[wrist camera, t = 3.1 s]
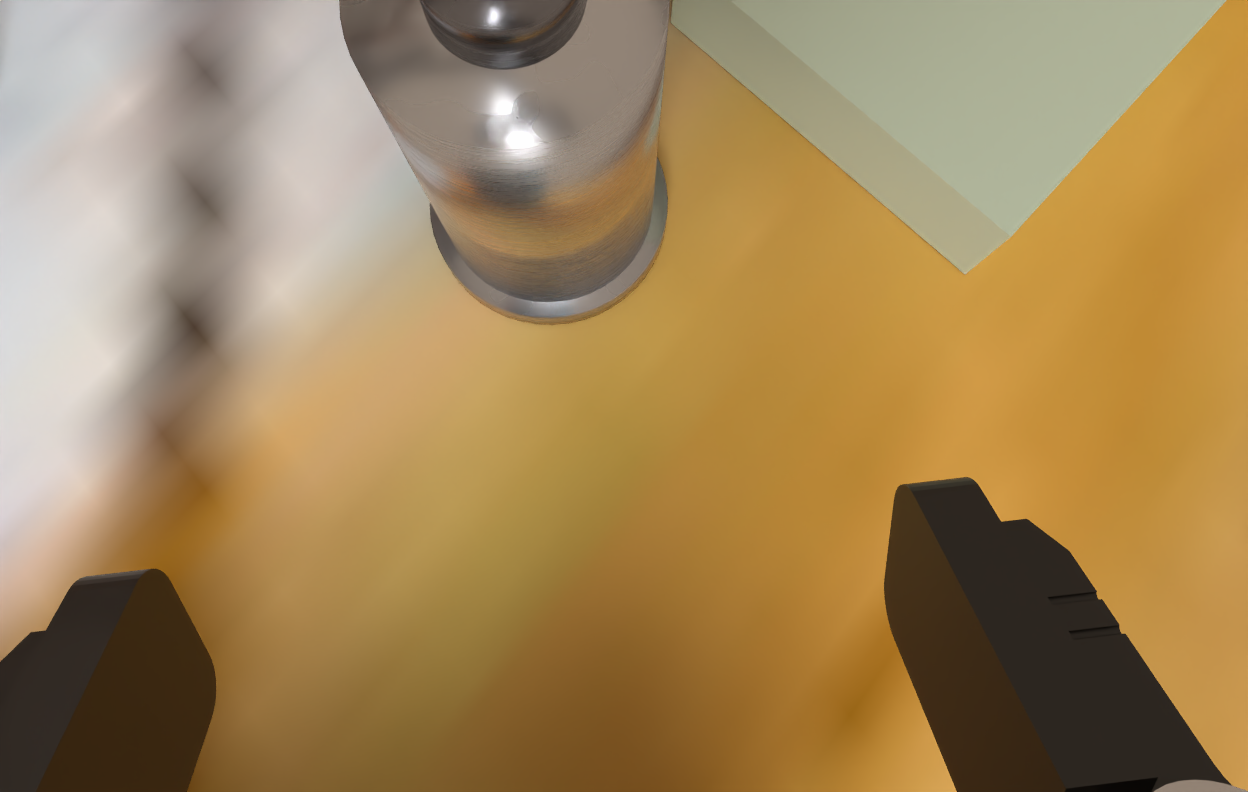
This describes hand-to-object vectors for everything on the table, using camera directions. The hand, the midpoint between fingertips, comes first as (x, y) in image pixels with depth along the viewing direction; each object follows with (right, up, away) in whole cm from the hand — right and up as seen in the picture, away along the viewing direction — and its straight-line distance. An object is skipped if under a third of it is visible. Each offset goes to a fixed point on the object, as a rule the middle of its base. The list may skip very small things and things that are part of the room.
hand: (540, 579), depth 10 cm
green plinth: (+10, +13, +16) cm, 23 cm away
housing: (-1, +7, +15) cm, 17 cm away
